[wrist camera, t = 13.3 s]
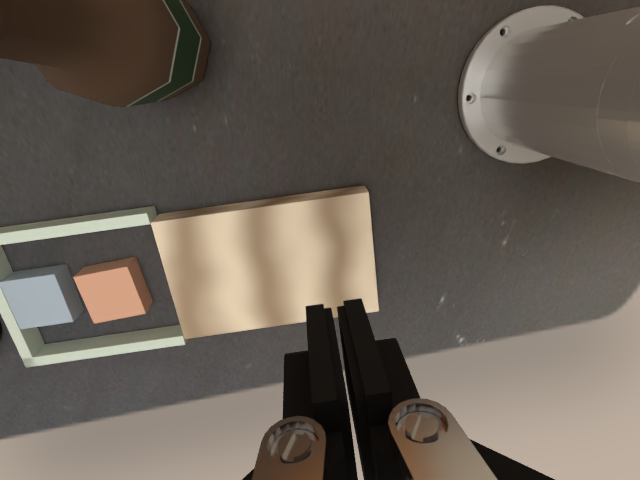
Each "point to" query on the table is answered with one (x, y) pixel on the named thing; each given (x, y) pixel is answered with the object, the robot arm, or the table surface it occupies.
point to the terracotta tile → (113, 290)
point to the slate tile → (42, 296)
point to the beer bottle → (108, 46)
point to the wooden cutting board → (267, 260)
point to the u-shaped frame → (42, 354)
